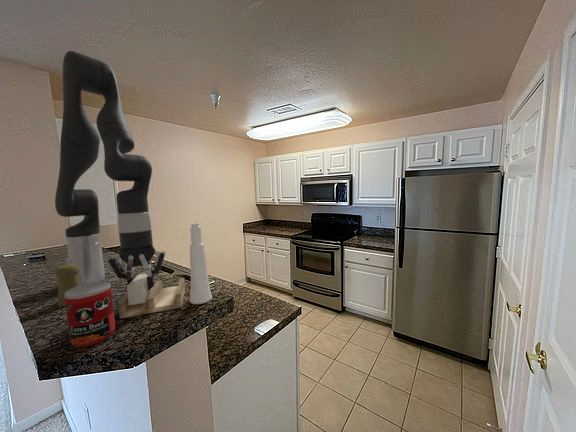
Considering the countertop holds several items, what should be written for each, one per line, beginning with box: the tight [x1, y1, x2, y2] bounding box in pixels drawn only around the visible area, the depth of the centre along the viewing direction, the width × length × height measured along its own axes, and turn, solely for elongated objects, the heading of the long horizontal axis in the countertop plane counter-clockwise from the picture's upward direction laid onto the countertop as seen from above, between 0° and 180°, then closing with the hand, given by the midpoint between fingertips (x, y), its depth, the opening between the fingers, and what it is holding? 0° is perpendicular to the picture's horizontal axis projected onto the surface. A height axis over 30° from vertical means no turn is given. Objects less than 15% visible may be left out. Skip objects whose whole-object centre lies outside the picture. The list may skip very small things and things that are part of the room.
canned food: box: [64, 281, 116, 348], centre depth 53 cm, size 8×8×11 cm
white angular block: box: [126, 273, 154, 305], centre depth 68 cm, size 4×12×5 cm, turn 20°
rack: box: [117, 277, 186, 319], centre depth 70 cm, size 14×14×4 cm
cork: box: [54, 264, 81, 307], centre depth 72 cm, size 6×6×11 cm
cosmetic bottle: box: [189, 222, 213, 305], centre depth 69 cm, size 6×6×22 cm
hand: (141, 289), depth 68 cm, fingers closed on white angular block, 3 cm apart
